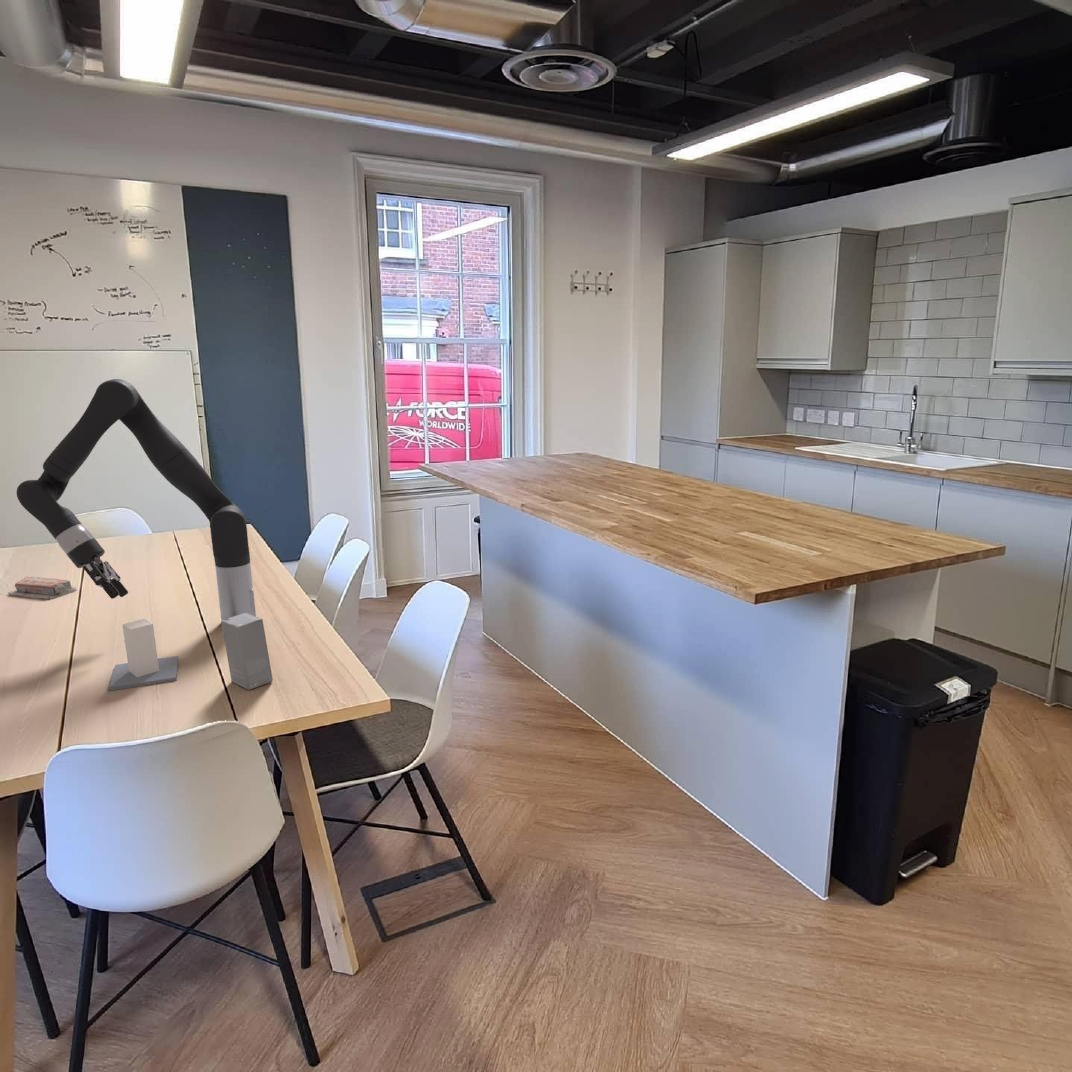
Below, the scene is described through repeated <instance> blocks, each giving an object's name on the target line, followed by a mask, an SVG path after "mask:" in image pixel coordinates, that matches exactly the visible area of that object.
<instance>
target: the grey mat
mask: <svg viewBox="0 0 1072 1072" xmlns="http://www.w3.org/2000/svg"><path fill="white" fill-rule="evenodd" d="M179 660H180V659H179V655H175V656H167V657H162V658H158V665H159V671H157V672H154V673H150V674H147V675H144V676H140V677H136V676H135V675H133V674H132V673H131V672H129V666H128V662H125V663H120V664H115V665H114V668H113V672H112V674H111V678H110V682H109V684H108V691H109V692H110V691H111V692H112V691H116V690H117V691H118V690H123V689H129V688H135V687H136V688H137V687H142V686H148V685H150V686H151V685H156V684H161V683H167V682H176V681H177V677H178V668H179Z"/></svg>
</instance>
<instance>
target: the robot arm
mask: <svg viewBox="0 0 1072 1072" xmlns="http://www.w3.org/2000/svg"><path fill="white" fill-rule="evenodd" d="M118 421H120V422H121V423H122V424H123V425H124V426H125V427H126V428H127V429H128V430H129V431H130V432H131V433H132V434H133V436H134V437H135V438H136V440H137V441H138V443H139V444H140V446H141V449H143V452H144V454H145V455H146V456H147V458H148V460H149V461H150V462H151V464H152V465H153V466H154V468H155V469H156V470H157V471H158V472H159V473H160V474H161V475H162V476H163V478H164V479H165V480H166V481H167V482H168V483H169V484H171V486H173V487H174V488H175V489H177V490H178V491H179V492H181V494H182V495H185V496H186V497H187V498H189V499H190V500H191V501H192V502H194V504H195V505H196V506H197V507H198V508H199V510H200V511H201V512H202V513H203V514H204V516H205V517H206V518H207V520H208V522H209V524H210V525H209V527H210V538H211V544H212V545H211V547H212V554H213V559H214V567H215V573H216V582H217V583H216V585H217V593H218V594H217V595H218V601H219V610H220V611H219V613H220V620H224V619H228V618H231V617H234V616H237V615H240V614H243V613H248V614H250V615H253V616H255V617H257V613H256V604H255V603H256V601H255V593H254V585H253V576H252V566H251V555H250V545H249V538H248V537H249V535H248V527H247V517H246V514H245V513H244V511H243V510H242V509H241V508H240V507H238V505H237V504H235V503H234V502H233V501H232V500H230V499H229V497H228V496H227V495H225V493H223V491H222V490H220V488H218V487H217V485H216V484H215V483H214V481H213V480H212V478H211V477H210V476H209V474H208V473H207V472H206V470H205V469H204V468H203V466H202V465H201V464H200V463H199V461H198V460H197V458H196V457H194V455H193V454H192V453H191V452H190V451H189V449H188V448H187V447H186V446H185V444H183V443H182V442H181V441H180V439H178V438H177V436H176V435H175V434H173V433H172V432H171V430H170V429H168V428H167V426H165V425H164V424H163V423H162V421H160V420H159V419H158V417H157V416H156V415H155V414H154V413H153V411H152V410H151V409H150V407H149V406H148V405H147V403H146V402H145V400H144V399H143V398H142V396H141V394H140V392H139V391H138V390H137V389H136V387H135V386H134V385H133V384H131V382H128V381H127V380H125V379H121V378H113V379H108V380H106V381H103V382H102V383H100V384H99V385H98V386H97V388H96V391H95V393H94V394H93V397H92V398H91V400H90V402H89V404H88V405H87V407H86V409H85V410H84V413H83V414H82V415H81V416H80V418H79V420H78V421H77V422H76V424H75V425H74V426H73V427H72V429H70V431H69V432H68V433H67V434H66V435H65V436H64V437H63V439H62V440H61V441H60V442H59V443H58V444H57V446H56V447H54V449H53V450H52V451H51V452H50V454H49V455H48V456H47V458H46V459H45V460H44V461H43V464H42V469H43V471H42V474H41V475H40V477H39V478H37V479H27V480H25V481H23V482H21V483H20V484H19V485H17V487H16V497H17V500H18V502H19V503H20V505H21V506H22V507H23V508H24V509H25V510H26V512H28V513H29V514H30V515H31V516H33V517H34V518H35V519H36V520H37V521H39V522H40V523H41V524H42V525H44V527H45V528H46V529H47V530H48V532H49V533H50V534H51V536H52V537H53V538H54V539H55V540H56V543H57V544H58V546H59V547H60V548H61V550H62V551H63V552H64V553H65V555H66V556H67V558H69V560H70V561H71V562H72V563H73V565H74V566H75V567H76V568H77V569H83V570H84V571H85V572H86V573H87V575H88V576H89V578H90V579H91V580H92V581H93V582H94V584H95V586H97V587H100V588H102V590H104V592H105V593H106V594H107V595H108V597H109V598H110V599H111V600H113V599H115V598H117V597H118V596H119V597H120V598H123V597H124V596H127V595H128V594H129V590H127V588H126V587H125V585H123V583H122V582H121V580H122V578H121V576H120V575H119V574H118V573H117V571H115V569H114V568H113V567H112V565H111V564H109V562H108V561H106V560H105V561H103V560H102V559H101V557H102V556H104V554H105V553H106V550H105V549H104V548H103V547H102V546H101V544H100V543H99V542H98V541H97V539H96V538H95V537H94V536H93V534H92V533H91V532H90V531H89V529H88V528H87V527H86V526H85V525H84V524H82V522H81V521H80V520H79V519H78V517H77V516H76V514H75V513H74V512H73V511H72V510H70V509H69V508H67V507H65V506H63V505H61V504H60V503H59V502H58V501H59V500H60V499H61V497H62V495H63V494H64V492H65V491H66V488H67V487H68V484H69V482H70V480H71V478H73V476H75V474H76V473H77V471H78V470H79V469H80V467H81V466H82V465H83V464H84V463H85V461H86V460H87V459H88V458H89V456H90V454H91V453H92V452H93V450H94V448H95V447H96V445H97V443H98V442H99V441H100V440H101V438H102V437H103V436H104V434H105V433H106V432H107V430H109V429H110V428H111V427H112V426H113V425H114V424H116V422H118Z"/></svg>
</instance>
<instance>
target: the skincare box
mask: <svg viewBox="0 0 1072 1072" xmlns="http://www.w3.org/2000/svg"><path fill="white" fill-rule="evenodd" d="M220 620H221V619H220ZM263 620H264V619H263V618H260V617H258V616H256V617H255V616H253V615H250V614H248V613H243V614H240V615H237V616H234V617H231V618H228V619H224V620H221V621H220V623H221V629H222V635H223V640H224V646H225V653H226V658H227V662H228V667H229V675H230V681H231V682H232V683H234V684H236V685H238V686H239V687H242V688H244V689H246V690H248V691H251V690H253V689H255V688H258V687H260V686H264V685H266V684H270V683H273V680H274V679H273V673H272V667H271V661H270V657H269V656H270V655H269V650H268V643H267V638H266V631H265V627H264V621H263Z"/></svg>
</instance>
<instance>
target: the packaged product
mask: <svg viewBox="0 0 1072 1072" xmlns="http://www.w3.org/2000/svg"><path fill="white" fill-rule="evenodd" d="M14 588H15V590H11V591H10V592H7V594H8V595H9V596H17V595H18V596H19V597H26V598H32V599H42V598H43V599H45V600H50V599H52V600H54V599H57V598H60V597H63V596H66V595H68V594H72V593H74V592H75V593H76V592H77V591H78V590H77V587H76V586H72V583H71V581H70V580H67V579H59V578H50V577H42V576H26V577H24V578H22V579H21V580H19V581H17V582H16V583H15V584H14Z"/></svg>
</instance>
